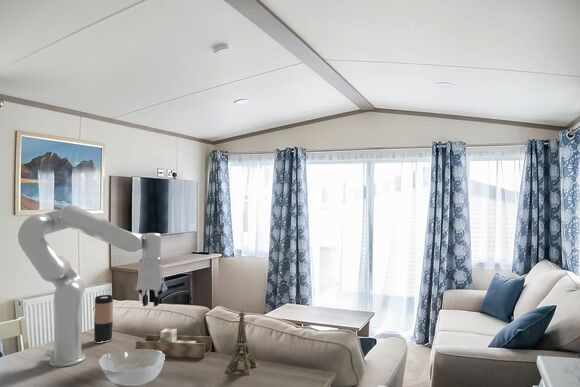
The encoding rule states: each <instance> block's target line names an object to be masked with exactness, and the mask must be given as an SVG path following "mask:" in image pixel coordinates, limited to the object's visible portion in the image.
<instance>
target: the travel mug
mask: <svg viewBox="0 0 580 387" xmlns="http://www.w3.org/2000/svg"><path fill="white" fill-rule="evenodd" d="M113 314H114V296H113V295H112V294H104V295H103V294H101V295H96V296H95V298H94V319H93V320H94V322H93V324H94V325H93V326H94V329H93V330H94V333H93V334H94V342H95V341H96V342H101V341H107V340H110V339H111V338H112V339H113V322H114V321H113V320H114V315H113Z"/></svg>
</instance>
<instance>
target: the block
mask: <svg viewBox="0 0 580 387" xmlns="http://www.w3.org/2000/svg"><path fill="white" fill-rule="evenodd" d="M177 332H178V329H177V328H164V329H163V330H161V331H160V332H159V333H160V334H159V335H160V342H176V341H177V336H178V335H177V334H178V333H177Z"/></svg>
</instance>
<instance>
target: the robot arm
mask: <svg viewBox="0 0 580 387" xmlns="http://www.w3.org/2000/svg"><path fill="white" fill-rule="evenodd" d="M69 228H70V229H72V230H74V231H78V232H80V233H82V234H84V235H87V236H89V237H92V238H94V239H97V240H99V241H102V242H105V243H106V244H109V245H111V246H112V247H116V248H118V249H121V250H123V251H126V252H128V253H135V252H137V251H139V250H142V251H141V252H142V253H141V254H142V255H141V256H142V257H141V259H139V260H138V262H139V263H141V265H140V266H139V269H138V274H137V281H136V283H137V284H136V286H135V287H134V290H136V291H137V292H138V294H139V295H140V296H141V297H142V300H141V302H142V306H143V307H146V306H147V305H149V295H148V291H154V297H153V307H158V306H159V305H160V297H161V295H162V294H163V293H164V292H166V291H167V290H168V287H167V285H166V283H165V277H164V276H165V275H164V269H163V268H164V267H163V264H161V261H162V256H161V255H162V235H161V234H160V233H159V232H158V233H157V232H147V233H139V232H132V231H128V230H126V229H124V228H121V227H119V226H118V225H116V224H114V223H112V222H111V221H109V220H108V219H106V218H104V217H102V216H99V215H97V214H94V213H92V212H90V211H87V210H84V209H83V208H81V207H79V206H77V205H66V206H64V207H62V208H60V209H56V210H52V211H48V212H45V213H41V214H39V213H38V214H33V215H30V216H28V217H27V218H26V219H25V220H24V221H23V222H22V223H21V225H20V227H19V229H18V234H17V239H18V244H19V246H20V248H21V250H22V251H23V253H24V255H26V257H27V258H28V260H29V261H30V263H31V264H32V266H33V267H34V269H35V270H36V271H37V273H38V274H39V275H40V277H41V279H42V280H44V281H45V282H47V283H48V282H49V283H52V284H53V286H54V287H55V290H54V295H53V304H54V307H53V308H54V327H53V328H54V330H53V331H54V332H53V333H54V334H53V340H54V341H53V349H52V348H51V349H50V348H48V349H46V352H45V354H44V355H45V356H46V357H50V359H48V360H49V361H48V364H49V365H50V366H51V367H54V368H55V367H59V368H61V367H62V368H64V367H68V366H69V367H70V366H73V365H76V364H79V363H82V362H83V361H85V359H86V354H84V353H83V352H82V330H83V328H82V327H83V301H82V300H83V295H84V292H85V290H86V286H85V282H84V280H83V279H82V277H81V276H80V274H79V273H78V272H77V270H76V269H75V268H74V267H73V265H72V264H71V262H70V261H69V260H68V259H67V258H65V257H64V256H62V255H57V253H56V252H55V251H54V249H53V248H52V246H51V245H50V244H49V242H47V240H46V238H45V236H46V235H49V234H52V233H55V232H58V231H62V230H65V229H69Z"/></svg>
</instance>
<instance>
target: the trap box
mask: <svg viewBox="0 0 580 387" xmlns="http://www.w3.org/2000/svg"><path fill="white" fill-rule="evenodd" d="M136 349H154V350H159V351H162V352H163V353H164V354H165V355H166V356H165V357H169V358H170V357H175V358H177V357H178V358H196V359H198V358H199V359H202V358H203V359H205V358H206V356H208V354H209V353H210V352H211V351H212V336H207V335H206V336H202V335H201V336H200V335H198V336H197V335H177V341H176V342H160V334H145V338H144V339H143V340H136V341H135V350H136Z"/></svg>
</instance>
